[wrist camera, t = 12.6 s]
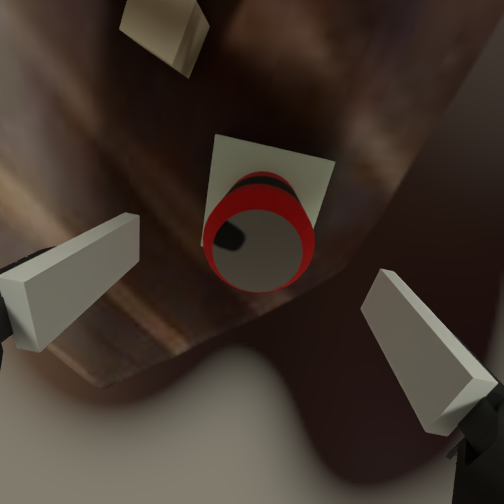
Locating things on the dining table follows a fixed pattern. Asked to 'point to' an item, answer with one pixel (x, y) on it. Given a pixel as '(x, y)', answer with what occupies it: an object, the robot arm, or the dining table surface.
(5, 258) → the dining table surface
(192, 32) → the maple cube
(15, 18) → the dining table surface
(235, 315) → the dining table surface
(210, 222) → the soda can
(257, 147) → the green block
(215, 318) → the dining table surface
